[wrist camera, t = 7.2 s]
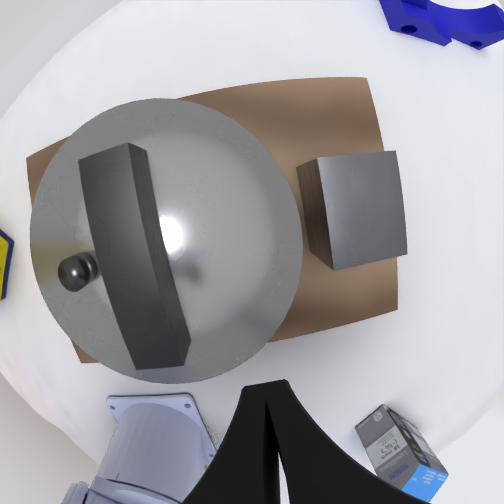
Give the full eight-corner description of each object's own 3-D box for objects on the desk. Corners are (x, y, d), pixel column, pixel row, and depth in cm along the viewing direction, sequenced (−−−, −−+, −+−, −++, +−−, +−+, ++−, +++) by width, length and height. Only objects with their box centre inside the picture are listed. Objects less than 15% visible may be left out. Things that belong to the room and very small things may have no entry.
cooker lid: (314, 351, 13) (330, 386, 10) (86, 378, 13) (66, 408, 10) (268, 78, 10) (276, 48, 7) (23, 156, 10) (-12, 153, 7)
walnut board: (391, 304, 19) (397, 309, 18) (86, 356, 19) (81, 363, 18) (360, 82, 16) (366, 77, 15) (34, 158, 15) (26, 157, 14)
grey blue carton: (418, 426, 23) (467, 499, 11) (392, 448, 23) (432, 523, 11) (383, 402, 21) (443, 498, 9) (351, 428, 22) (396, 528, 9)
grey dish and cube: (372, 290, 17) (407, 317, 13) (112, 337, 17) (85, 372, 13) (346, 105, 15) (378, 81, 11) (68, 165, 15) (26, 161, 10)
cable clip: (389, 31, 15) (427, -3, 9) (374, -7, 14) (404, -43, 8) (481, 62, 15) (520, 48, 9) (468, 27, 14) (502, 9, 8)
